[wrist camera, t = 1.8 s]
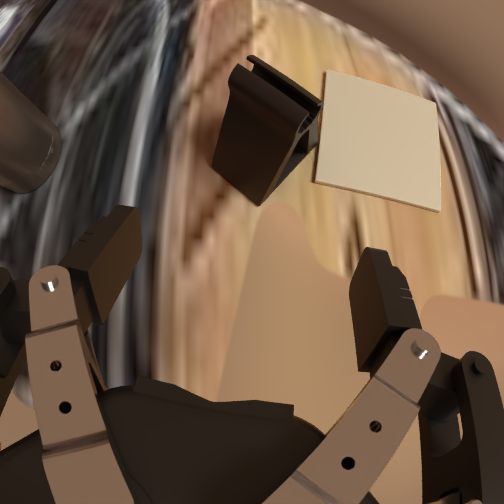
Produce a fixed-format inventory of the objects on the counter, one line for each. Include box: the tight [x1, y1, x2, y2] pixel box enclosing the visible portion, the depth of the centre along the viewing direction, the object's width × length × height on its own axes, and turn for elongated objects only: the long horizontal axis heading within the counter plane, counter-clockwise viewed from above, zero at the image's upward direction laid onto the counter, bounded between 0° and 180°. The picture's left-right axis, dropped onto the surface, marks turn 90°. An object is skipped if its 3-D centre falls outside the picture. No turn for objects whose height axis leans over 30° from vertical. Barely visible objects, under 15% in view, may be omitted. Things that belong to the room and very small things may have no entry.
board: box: [314, 70, 441, 213], centre depth 31 cm, size 14×14×1 cm
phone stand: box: [212, 55, 324, 206], centre depth 25 cm, size 9×6×12 cm, turn 138°
